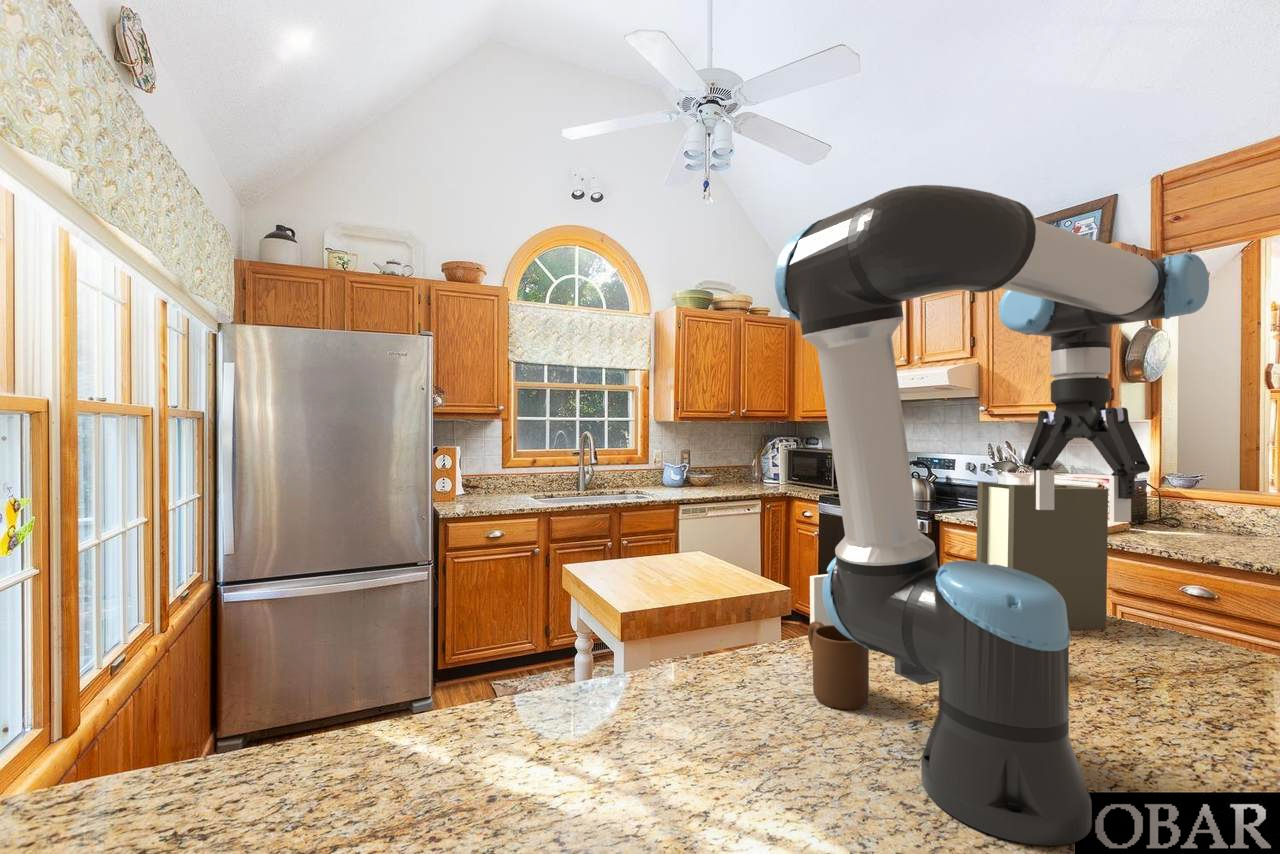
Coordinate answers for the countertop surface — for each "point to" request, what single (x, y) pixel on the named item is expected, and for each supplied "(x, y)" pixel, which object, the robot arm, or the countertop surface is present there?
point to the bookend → (913, 672)
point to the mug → (838, 668)
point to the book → (1050, 542)
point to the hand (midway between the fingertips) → (1079, 515)
